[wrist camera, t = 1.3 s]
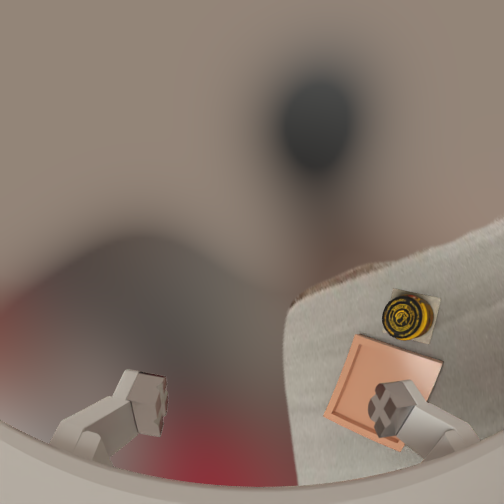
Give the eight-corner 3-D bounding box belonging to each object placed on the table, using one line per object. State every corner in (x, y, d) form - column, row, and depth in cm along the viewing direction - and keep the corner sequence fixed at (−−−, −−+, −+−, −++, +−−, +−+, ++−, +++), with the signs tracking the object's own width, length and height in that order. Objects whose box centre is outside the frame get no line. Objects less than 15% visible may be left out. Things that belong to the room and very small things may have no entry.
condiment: (429, 344, 37) (418, 351, 29) (382, 331, 43) (356, 334, 34) (441, 298, 38) (434, 290, 29) (393, 288, 44) (371, 278, 35)
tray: (443, 361, 35) (442, 363, 33) (403, 446, 34) (400, 451, 33) (360, 333, 45) (355, 334, 44) (329, 412, 45) (323, 416, 43)
